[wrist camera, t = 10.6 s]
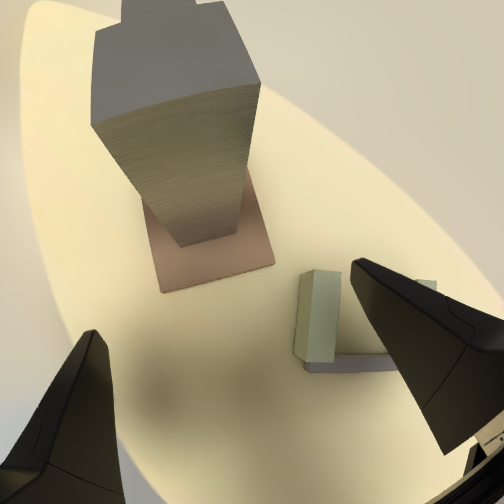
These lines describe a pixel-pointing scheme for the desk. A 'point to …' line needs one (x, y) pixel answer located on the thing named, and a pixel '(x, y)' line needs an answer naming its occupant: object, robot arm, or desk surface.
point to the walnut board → (211, 248)
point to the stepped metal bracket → (177, 111)
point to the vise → (330, 328)
